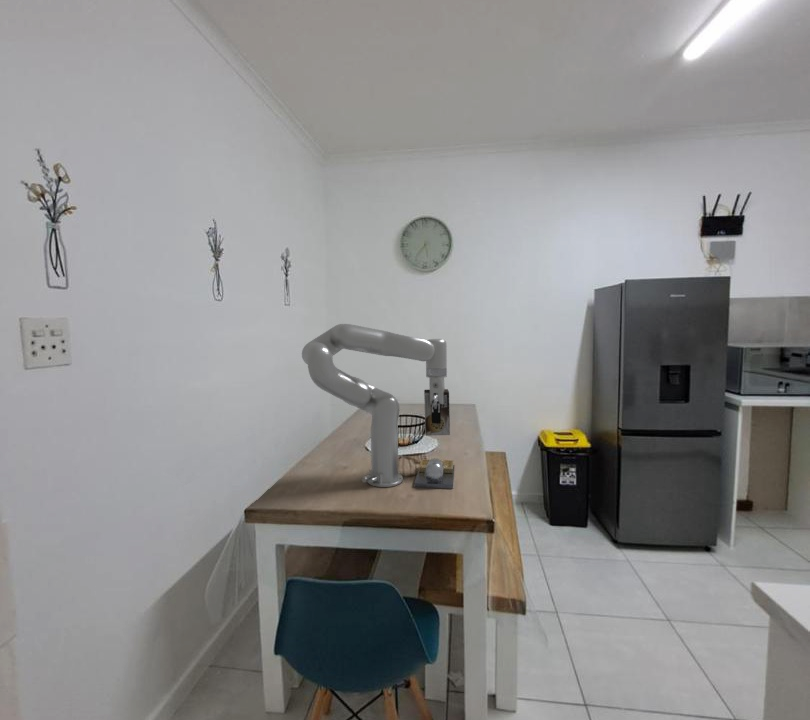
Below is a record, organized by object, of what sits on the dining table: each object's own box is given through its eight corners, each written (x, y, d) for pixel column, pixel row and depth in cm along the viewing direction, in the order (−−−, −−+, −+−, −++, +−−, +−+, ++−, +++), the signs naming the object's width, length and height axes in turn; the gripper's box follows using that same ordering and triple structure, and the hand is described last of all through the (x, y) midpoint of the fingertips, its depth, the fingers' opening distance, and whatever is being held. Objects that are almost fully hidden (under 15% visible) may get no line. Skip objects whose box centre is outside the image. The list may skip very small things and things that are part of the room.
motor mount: (452, 488, 142) (452, 467, 142) (414, 487, 144) (414, 465, 143) (454, 468, 162) (454, 449, 161) (420, 467, 164) (420, 448, 163)
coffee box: (448, 431, 160) (448, 388, 158) (450, 435, 153) (449, 391, 152) (424, 431, 160) (424, 389, 159) (425, 435, 154) (424, 391, 152)
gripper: (445, 375, 146) (445, 426, 147) (447, 370, 163) (448, 415, 164) (423, 375, 147) (424, 426, 148) (428, 370, 164) (428, 415, 165)
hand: (436, 420), depth 156 cm, fingers closed on coffee box, 6 cm apart
